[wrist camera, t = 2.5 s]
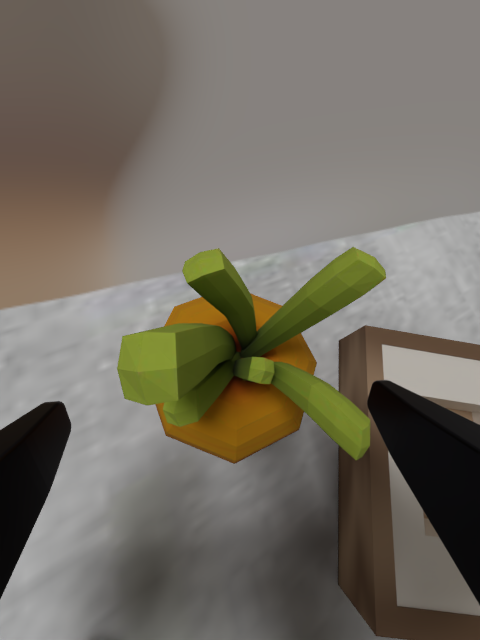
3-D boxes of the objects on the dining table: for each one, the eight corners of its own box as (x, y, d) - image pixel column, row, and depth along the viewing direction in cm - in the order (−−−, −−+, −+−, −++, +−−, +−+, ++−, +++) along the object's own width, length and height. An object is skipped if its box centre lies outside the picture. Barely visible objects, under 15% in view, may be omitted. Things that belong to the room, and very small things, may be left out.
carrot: (256, 355, 18) (411, 150, 4) (260, 432, 16) (556, 550, 2) (184, 356, 17) (69, 123, 3) (181, 436, 16) (-74, 615, 2)
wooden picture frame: (529, 589, 15) (605, 631, 12) (359, 567, 14) (395, 606, 11) (486, 376, 19) (535, 369, 16) (355, 354, 18) (380, 344, 16)
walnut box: (542, 609, 15) (637, 666, 11) (338, 584, 14) (376, 636, 11) (491, 366, 20) (547, 356, 16) (338, 340, 19) (365, 325, 16)
